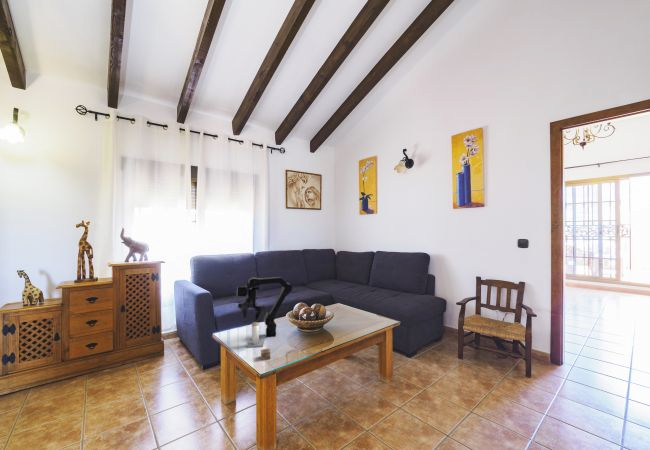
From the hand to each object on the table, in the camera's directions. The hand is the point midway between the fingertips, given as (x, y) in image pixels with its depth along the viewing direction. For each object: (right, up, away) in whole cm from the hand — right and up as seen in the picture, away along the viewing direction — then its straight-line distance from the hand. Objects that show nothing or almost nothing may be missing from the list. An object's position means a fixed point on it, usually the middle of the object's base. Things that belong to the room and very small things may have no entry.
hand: (250, 319), depth 190 cm
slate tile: (+6, -13, -9) cm, 17 cm away
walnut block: (+16, -13, -28) cm, 35 cm away
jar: (+6, -13, -10) cm, 17 cm away
